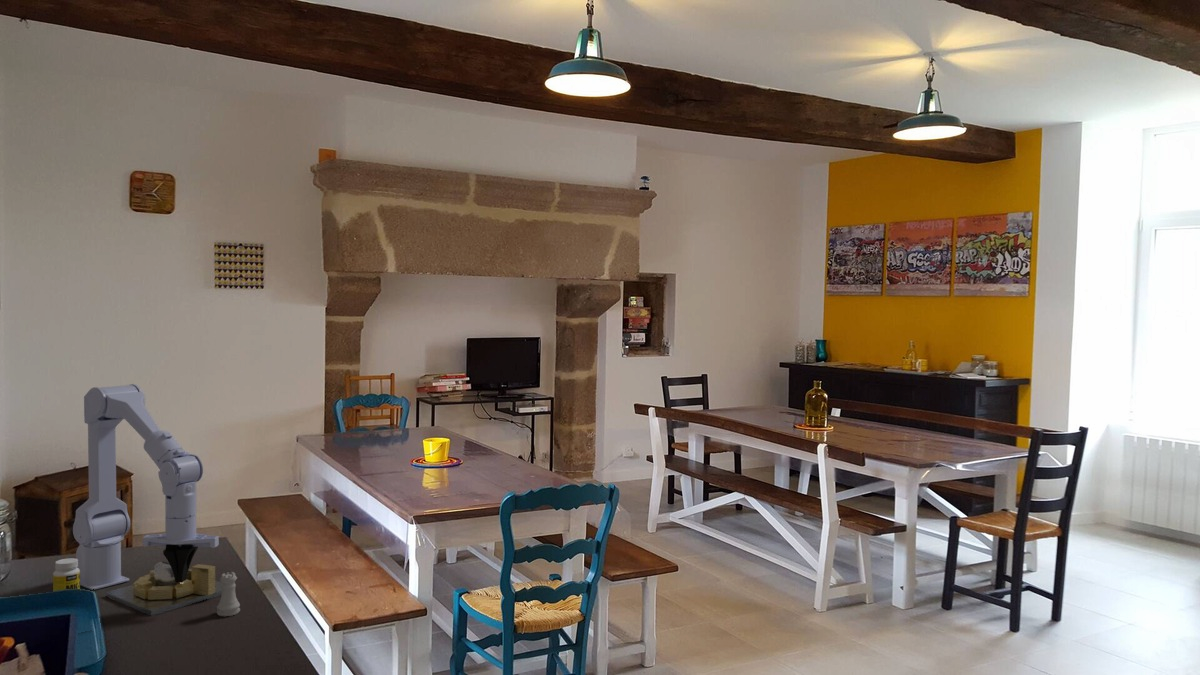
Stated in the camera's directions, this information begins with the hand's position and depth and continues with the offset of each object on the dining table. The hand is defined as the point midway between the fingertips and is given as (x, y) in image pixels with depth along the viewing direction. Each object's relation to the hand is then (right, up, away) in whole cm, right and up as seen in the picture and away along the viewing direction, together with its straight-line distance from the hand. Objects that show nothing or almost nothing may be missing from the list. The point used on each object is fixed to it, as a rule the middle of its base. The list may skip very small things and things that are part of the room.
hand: (180, 581), depth 179 cm
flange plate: (-5, -5, +7) cm, 10 cm away
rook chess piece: (+11, -6, -4) cm, 13 cm away
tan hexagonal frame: (-4, -3, +5) cm, 7 cm away
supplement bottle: (-24, -5, +1) cm, 25 cm away
